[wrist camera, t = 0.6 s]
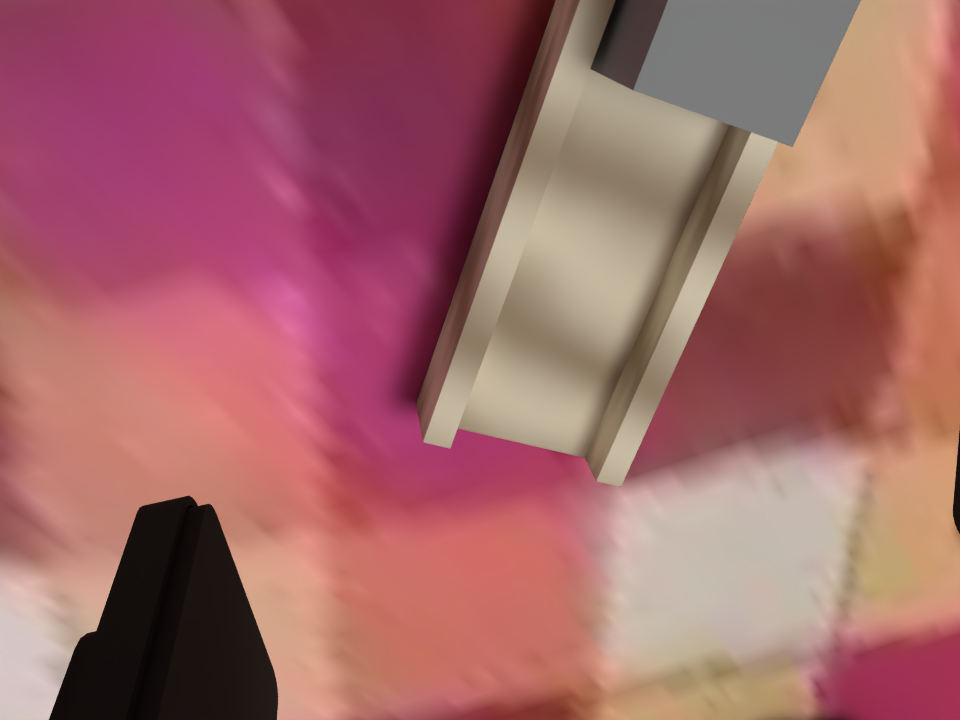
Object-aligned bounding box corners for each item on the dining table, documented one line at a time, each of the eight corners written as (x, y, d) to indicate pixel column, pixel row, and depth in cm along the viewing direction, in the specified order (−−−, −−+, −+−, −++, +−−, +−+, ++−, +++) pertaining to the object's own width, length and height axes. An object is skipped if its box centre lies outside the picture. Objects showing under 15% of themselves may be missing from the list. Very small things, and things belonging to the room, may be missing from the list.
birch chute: (638, -239, 31) (672, -259, 28) (856, -138, 34) (909, -146, 31) (416, 403, 41) (423, 442, 37) (599, 446, 43) (620, 486, 40)
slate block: (647, -102, 32) (711, -111, 26) (790, -42, 33) (878, -39, 28) (585, 66, 34) (633, 90, 29) (723, 115, 36) (792, 147, 30)
